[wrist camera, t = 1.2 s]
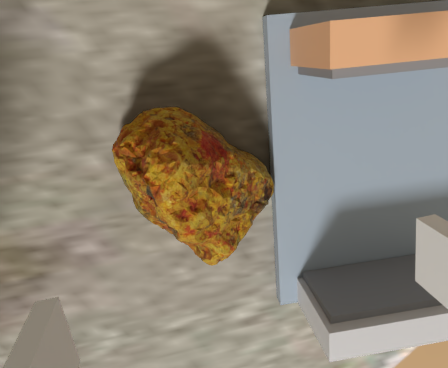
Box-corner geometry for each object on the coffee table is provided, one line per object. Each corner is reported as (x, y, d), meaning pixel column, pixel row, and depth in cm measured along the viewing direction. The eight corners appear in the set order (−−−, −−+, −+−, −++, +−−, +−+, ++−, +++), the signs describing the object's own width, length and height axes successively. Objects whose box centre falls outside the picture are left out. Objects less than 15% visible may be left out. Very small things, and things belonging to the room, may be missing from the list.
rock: (228, 116, 33) (306, 198, 29) (172, 186, 36) (235, 271, 32) (131, 72, 24) (224, 184, 20) (65, 171, 27) (133, 290, 22)
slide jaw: (290, 74, 28) (330, 81, 21) (289, 29, 27) (329, 20, 20) (449, 58, 29) (533, 60, 22) (453, 14, 28) (542, 2, 21)
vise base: (276, 296, 35) (308, 365, 27) (262, 16, 27) (300, 1, 20) (434, 271, 36) (506, 329, 29) (461, 0, 29) (568, -20, 21)
